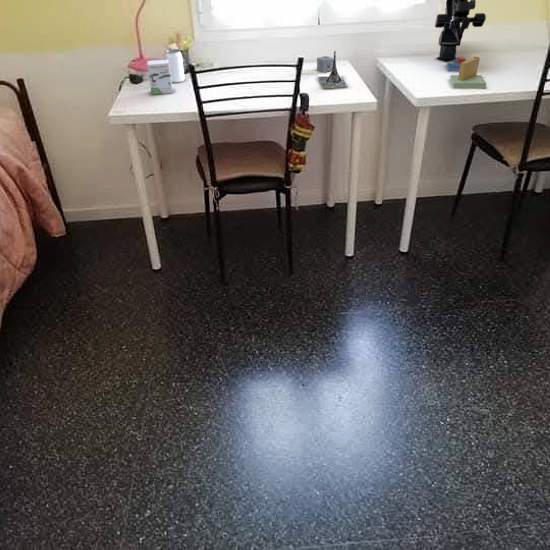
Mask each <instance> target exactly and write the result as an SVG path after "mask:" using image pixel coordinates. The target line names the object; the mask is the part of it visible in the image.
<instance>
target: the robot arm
mask: <svg viewBox="0 0 550 550" xmlns="http://www.w3.org/2000/svg"><path fill="white" fill-rule="evenodd" d="M475 8H476V0H470V1H469V0H447V1H446V8H445V7H444V13H438V14H437V15H436V18H435V21H434V28H436V29H437V28H438V29H439V28H440V29H441V28H442V30H441V31H440V34H439V37H438V46H439V47H440V48H439V49H440V50H439V55H438V56H437V57H436V60H439V61H442V62H446V63H449V62H452V61H453V60H456V59H457V57H456V56H457V47H460V45H461V43H462V39H463V36H464V32H465V31H466V30H467V29H469V28H470V27H469V26H470V24H471V25H472V27H474V28H481V27H483V26H484V24H485V21H486V19H487V15H486V14H485V12H477V13H476V12H475V13H474V16H469V15H470V11H471V10H475Z"/></svg>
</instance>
